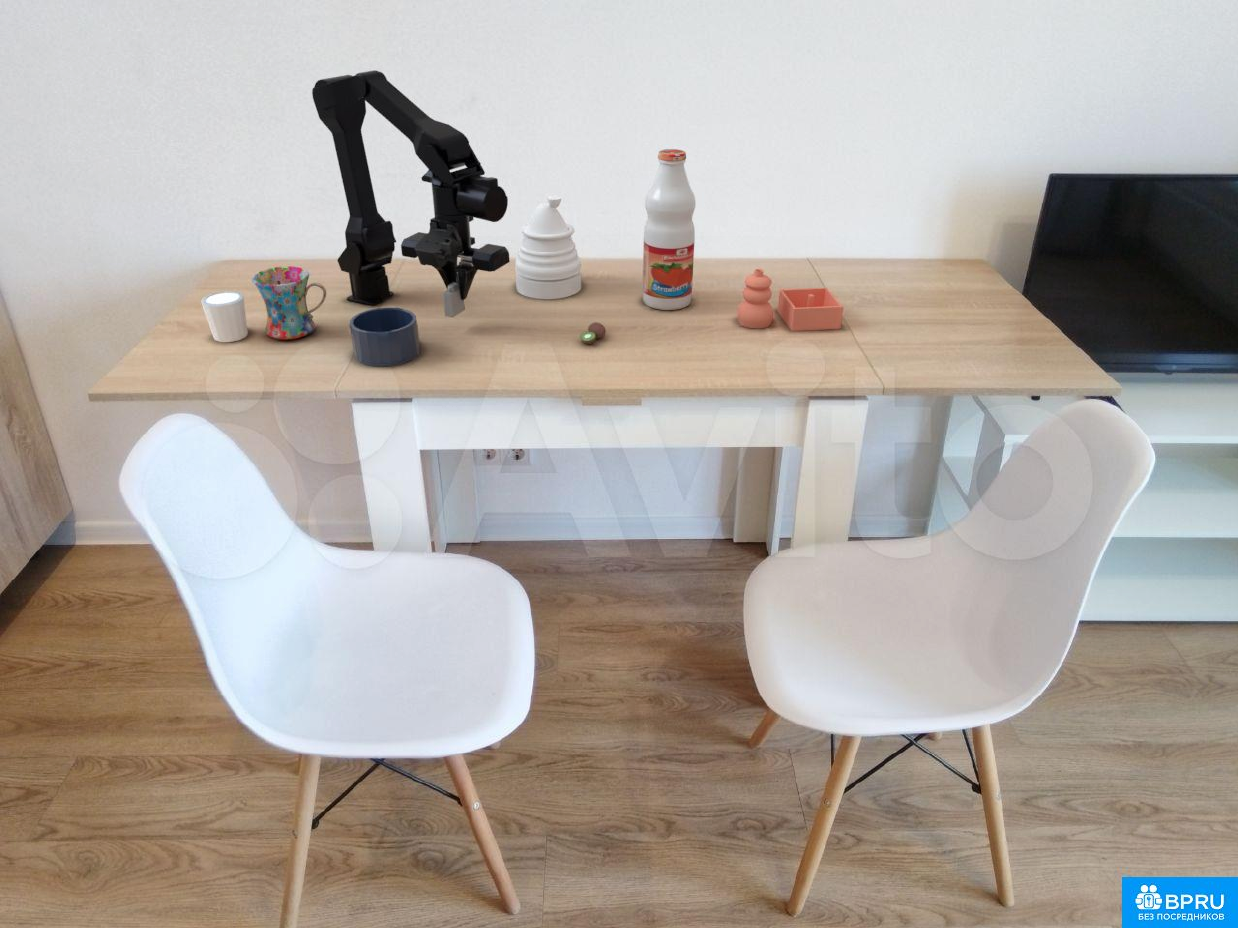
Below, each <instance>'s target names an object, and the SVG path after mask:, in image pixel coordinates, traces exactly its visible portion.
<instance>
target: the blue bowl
mask: <svg viewBox="0 0 1238 928" xmlns="http://www.w3.org/2000/svg"><path fill="white" fill-rule="evenodd" d="M348 326H349V330H350V337H351V343H352V351H353V355H354V359H355V360H356V361H357V362H359V363H360V364H362V365H365V366H369V367H381V368H382V367H384V368H385V367H393V366H399V365H402V364H406V363H408V362H411V361H413V360H414V359H416V358H417V357H418V356H419V354H420V352H421V349H420V339H419V330H418V329H419V328H418V321H417V315H416V314H415V313H414V312H412V311H410V310H408V309H406V308H401V307H378V308H372V309H368V310H364V311H362V312H359V313H357V314H356V315H355V314H354V315H353V316H352V318H350V320H349V325H348Z"/></svg>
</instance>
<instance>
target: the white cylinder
mask: <svg viewBox="0 0 1238 928" xmlns="http://www.w3.org/2000/svg"><path fill="white" fill-rule="evenodd" d="M200 302H201V306H202V308H203V311H204V315H205V317H206V321H207V323H208V327H209V329H210V331H211V335H212V337H213V339H214V340H215V341H216V342H220V343H232V342H237V341H241V340H243V339H245V338H246V337H247V336H248V323H247V315H246V306H245V297H244V294H242V293H241V292H238V291H230V290H229V291H218V292H214V293H210V294H208V295H205V296H204V297H203V298H201V301H200Z"/></svg>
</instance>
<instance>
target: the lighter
mask: <svg viewBox="0 0 1238 928" xmlns="http://www.w3.org/2000/svg"><path fill="white" fill-rule="evenodd" d="M459 264H461V261H459V262H458V265H459ZM442 298H443V307H444V316H445V317H447V318H455V317H456V316H458V315H460V314H461V313H463V312H464V311H465V310H466V302H465V300H461V296H460V287H459V274H458V272H457V278H456V283H454V282H453V283H451V284H449V285H448V290H447V289H446V290H445V291H443V292H442Z"/></svg>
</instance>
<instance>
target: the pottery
mask: <svg viewBox="0 0 1238 928" xmlns="http://www.w3.org/2000/svg"><path fill="white" fill-rule="evenodd" d="M753 271H754V272H753V273H752V274H749V275H747V276H746V277H745V278H744V280H743V283H744V285H745V286H744V287H743V290H742V294H741V295H742V298H743V301H742V302H741V303H740V304H739V305H738V307H737V311H736V317H737V322H738V324H739V325H741V326H742V327H745V328H749V329H763V328H767V327H769V326H770V325H771V324H772V322H773V321H772V320H773V318H774V309H773V306H772V304H771V303H770V302H769V301H770V300H771V298H772V290H771V288H770V287H771V285H772V284H773V282H772V279H771V277H769V276H768V275H766V274H764V272H765V271H764V269H762V268H755V269H754V270H753ZM777 303H778V304H777V312H778V314H779V316H781V318H782V319H783V321H784V322H785V324H786V325H787V327H788V328H789V329H790V331H791V332H796V331H798V332H799V331H820V330H822V331H823V330H839V329H841V327H842V320H843V313H844V305H843V304H842V303H841V302H840V301H839V299H837V297H835V295H834V293H832V292H831V291H830V289H829V288H828V287H809V288H787V289H785V288H784V289H779V293H778V302H777Z"/></svg>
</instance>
